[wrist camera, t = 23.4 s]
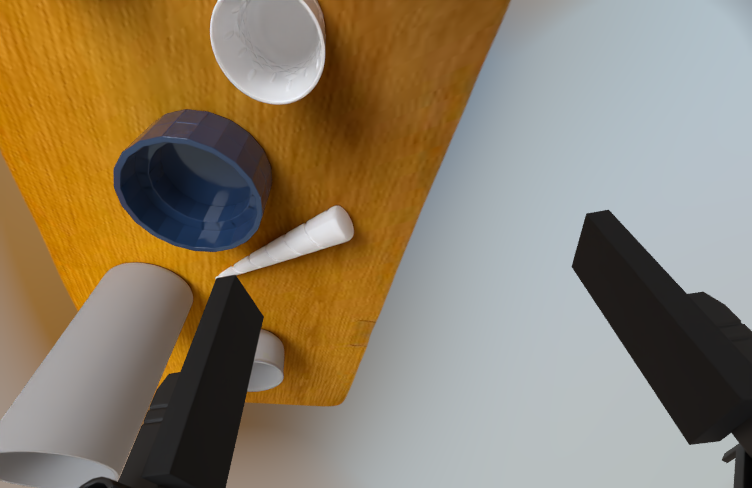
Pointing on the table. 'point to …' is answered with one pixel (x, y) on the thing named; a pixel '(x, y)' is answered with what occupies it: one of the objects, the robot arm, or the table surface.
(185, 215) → the navy blue bowl
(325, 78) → the table surface
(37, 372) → the cylinder vase
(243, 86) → the white cup
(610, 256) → the robot arm
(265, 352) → the teacup
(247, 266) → the unicorn horn
